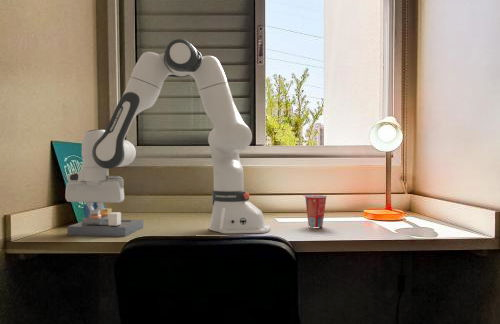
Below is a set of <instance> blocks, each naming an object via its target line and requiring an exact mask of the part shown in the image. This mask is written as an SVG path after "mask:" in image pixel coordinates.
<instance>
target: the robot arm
mask: <svg viewBox="0 0 500 324" xmlns="http://www.w3.org/2000/svg"><path fill="white" fill-rule="evenodd" d="M202 55H203V54H202V53H201V52H200V51H199V50H198V49H197V48H196V47H195V46H194V45H193V44H192V43H191V42H189V41H188V40H187V39H182V38H175V39H173V40H171V41H169V42H168V44H167V45H166V47H165V48H164V52H163V53H157V52H153V51H145V52H143V53H142V54H141V55H140V57H139V59H138V60H137V62H136V64H135V66H134V67H133V70H132V72H131V73H130V74H131V75H130V77H129V79H128V82H127V84H126V88H125V90H124V92H123V94H122V96H121V97H120V100H119V101H118V104H117V105H116V107H115V110H114V112H113V113H112V116H111V118H110V120H109V123H108V125H107V127H106V129H100V128H99V129H92V130H91V129H90V130H88V131H86V132H85V133H84V134H83V136H82V140H81V141H82V142H81V157H82V163H81V170H80V171H77V172H74V173H70V174H68V175H67V176H66V178H67V181H68V182H67V183H66V184H65V185H66V186H65V195H64V196H65V197H64V198H65V200H66V202H67V203H68V202H70V203H87V207H88V208H89V210H90V215H100V210H101V208H102V206H103V205H104V203H117V204H118V203H122V202H124V200H125V189H124V185H125V181H124V179H123V177H121V176H120V175H110V174H109V171H110V170H111V169H114V168H120V167H127V166H129V165H131V164H132V163H134V161H135V160H136V157H137V148H136V147H135V145H134V144H133V143H132V142H131V141H129V140H127V139H125V138H126V136H127V135H128V132H129V130H130V128H131V125H132V124H133V121H134V119H135V118H136V117H137V116H138V115H139V114H140V113H141V112H144V111H145V110H148V109H150V108H152V107H153V106H154V105H155V103H156V101H157V100H158V98H159V95H160V93H161V91H162V87H163V84H164V82H165V81H166V78H167V77H170V78H171V77H173V78H186V77H188V76H191V77H192V78H193V79H194V81H195V84H196V88H197V90H198V94H199V97H200V100H201V103H202V107H203V110H204V113H205V114H206V115H207V117H208V118H209V120H210V122H211V124H212V125H213V128H212V130H211V131H210V132H209V134H208V137H207V142H208V144H209V147H210V155H211V161H212V167H213V168H212V169H213V190H212V193H211V203H212V204H211V205H212V212H211V219H210V225H209V227H208V228H209V230H210V231H213V232H218V233H221V234H258V233H259V234H264V233H268V232H269V231H271V225H269V224H268V223H265V217H264V214H263V212H262V210H261V209H260V208H258V207H257V206H256V205H255V204H253V203H252V202H250V201H249V199H250V192H247V191H245V190H244V187H245V186H244V180H245V179H244V178H245V177H244V175H245V174H244V168H243V165H242V163H241V158H240V154H239V153H240V152H242V151H244V150H246V149H247V148H248V147H249V146H250V145H251V143H252V140H253V133H252V130H251V128H250V127H249V126H248V125H247V124H246V123H245V121H244V120H243V117H242V116H241V114H240V112H239V110H238V108H237V106H236V103H235V102H234V98H233V95H232V92H231V88H230V86H229V82H228V79H227V76H226V74H225V71H224V69H223V66H222V64H221V63H220V60H219V59H218V58H217V57H216V56H213V55H204V56H202ZM109 169H110V170H109ZM94 202H97V205H98V207H97V209H96V210H95V209H94V208H93V206H92V205H93V204H94Z"/></svg>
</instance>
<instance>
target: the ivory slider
mask: <svg viewBox="0 0 500 324" xmlns="http://www.w3.org/2000/svg"><path fill="white" fill-rule="evenodd" d="M121 219H122V212H119V211H117V212H116V211H112V213H109V214H108V225H112V226H117V225H120V224H121Z"/></svg>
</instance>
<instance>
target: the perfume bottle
mask: <svg viewBox="0 0 500 324" xmlns="http://www.w3.org/2000/svg"><path fill="white" fill-rule="evenodd" d="M92 206H93V208H94V209H95V210H96V209H97V207H98V205H97V202H94V204H93V205H92ZM103 208H106V207H105V206H104V204H103V206H102V208H101V209H103ZM83 210H84V215H85V218H86V217H89V215H90V210H89V208H88V207H87V202H85V205H84V206H83V208H82V211H83Z"/></svg>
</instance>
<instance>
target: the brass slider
mask: <svg viewBox="0 0 500 324" xmlns="http://www.w3.org/2000/svg"><path fill="white" fill-rule="evenodd" d="M112 209H113V208H109V207H108V208H106V207H105V208H103V209H101V210H100V214H101V216H108V214H109V213H112V212H113V211H112Z"/></svg>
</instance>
